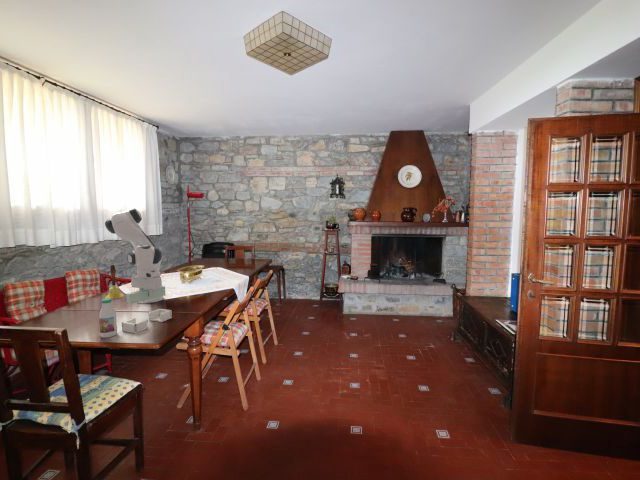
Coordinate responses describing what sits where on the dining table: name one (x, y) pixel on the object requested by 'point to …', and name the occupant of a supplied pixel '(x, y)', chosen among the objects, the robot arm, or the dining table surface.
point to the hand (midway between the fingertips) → (146, 295)
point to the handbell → (113, 286)
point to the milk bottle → (107, 319)
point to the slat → (144, 295)
